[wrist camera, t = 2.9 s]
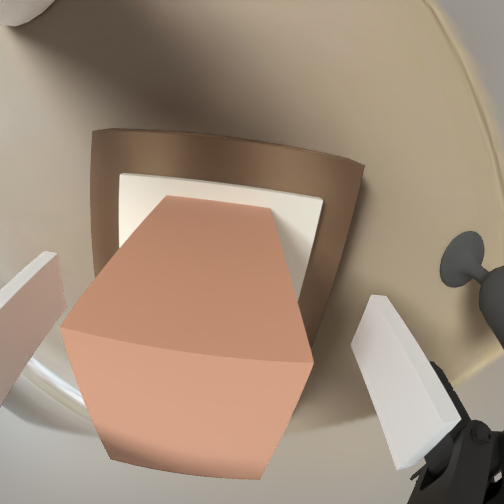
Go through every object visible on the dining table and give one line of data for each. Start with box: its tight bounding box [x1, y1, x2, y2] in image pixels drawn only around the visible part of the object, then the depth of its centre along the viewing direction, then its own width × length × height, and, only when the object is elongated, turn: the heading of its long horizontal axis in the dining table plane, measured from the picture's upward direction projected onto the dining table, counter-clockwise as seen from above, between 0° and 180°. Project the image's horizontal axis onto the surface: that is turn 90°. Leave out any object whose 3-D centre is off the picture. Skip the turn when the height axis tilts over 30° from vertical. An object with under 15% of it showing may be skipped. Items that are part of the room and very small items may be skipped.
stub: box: [60, 173, 323, 480], centre depth 11 cm, size 10×8×10 cm
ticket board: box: [90, 128, 365, 349], centre depth 18 cm, size 14×22×6 cm, turn 171°
